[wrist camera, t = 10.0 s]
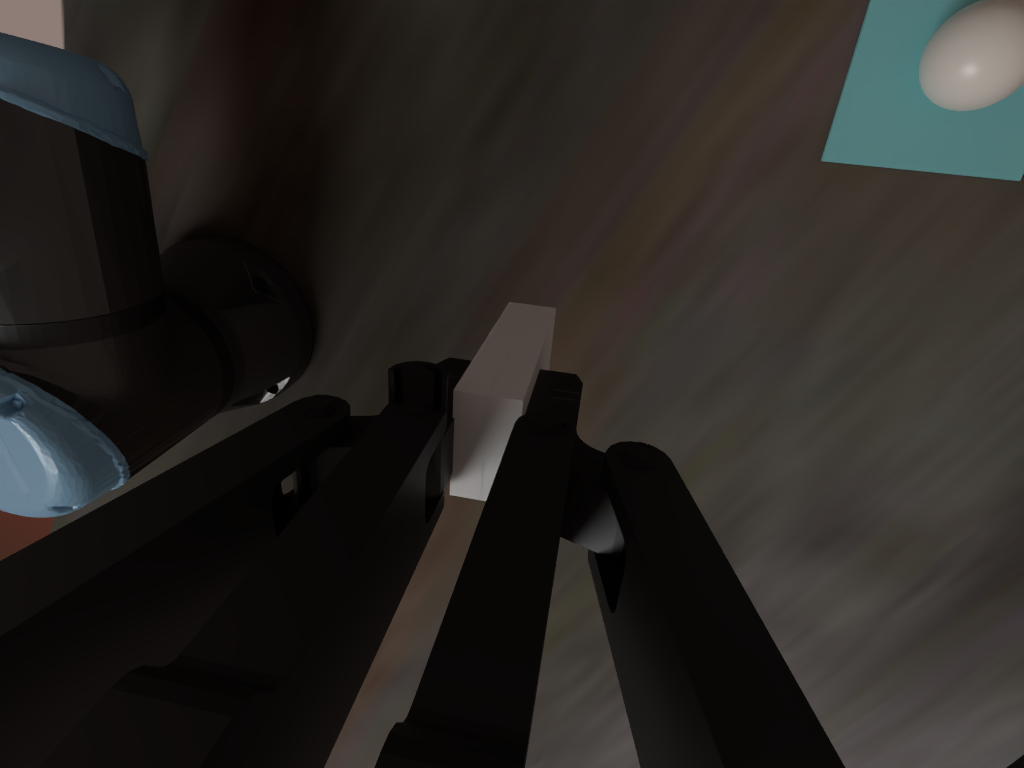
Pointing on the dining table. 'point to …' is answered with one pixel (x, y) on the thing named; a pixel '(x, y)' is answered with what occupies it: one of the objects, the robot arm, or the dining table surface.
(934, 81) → the ball
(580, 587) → the dining table surface
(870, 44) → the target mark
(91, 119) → the robot arm
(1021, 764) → the food platter
